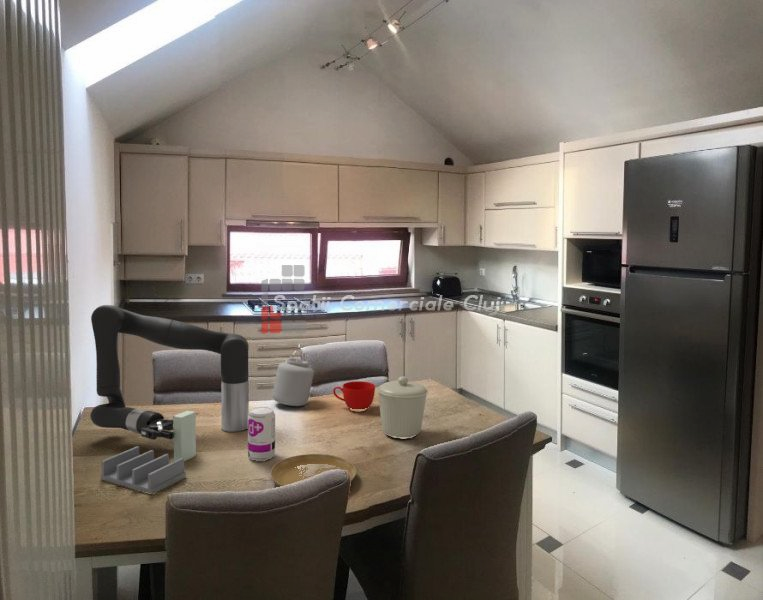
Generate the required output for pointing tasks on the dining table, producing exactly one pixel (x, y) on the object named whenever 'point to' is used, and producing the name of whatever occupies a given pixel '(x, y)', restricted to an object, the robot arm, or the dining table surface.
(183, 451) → the green slab
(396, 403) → the canister
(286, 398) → the jar
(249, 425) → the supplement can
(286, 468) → the plant saucer
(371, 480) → the dining table surface
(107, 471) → the dish rack
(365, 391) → the ceramic cup
